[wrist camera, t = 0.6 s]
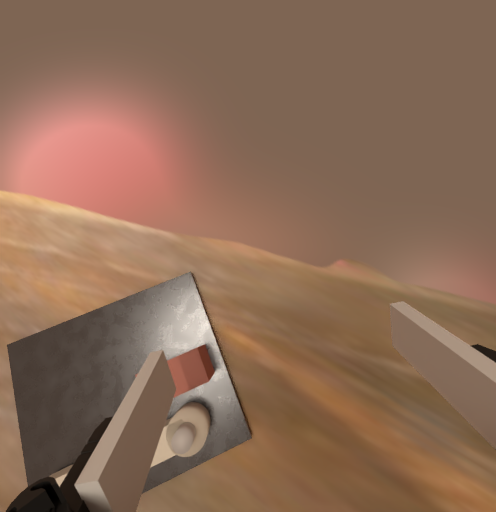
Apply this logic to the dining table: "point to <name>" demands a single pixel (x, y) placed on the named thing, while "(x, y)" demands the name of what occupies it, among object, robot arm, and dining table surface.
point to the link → (174, 436)
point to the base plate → (117, 377)
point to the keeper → (191, 369)
